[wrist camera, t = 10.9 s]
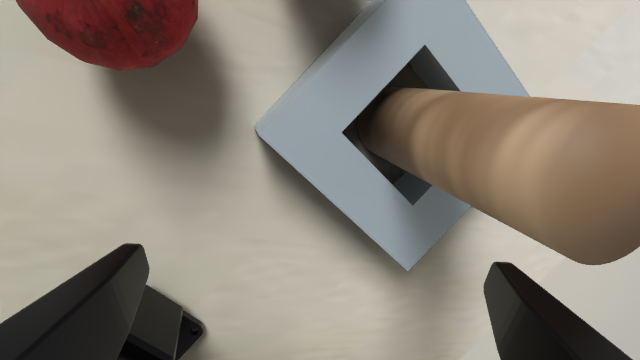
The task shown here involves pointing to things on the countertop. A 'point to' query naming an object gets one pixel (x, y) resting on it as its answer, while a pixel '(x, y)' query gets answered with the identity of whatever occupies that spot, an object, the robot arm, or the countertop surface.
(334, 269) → the countertop surface
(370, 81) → the collar block
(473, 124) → the walnut peg long
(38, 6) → the onion
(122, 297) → the robot arm
